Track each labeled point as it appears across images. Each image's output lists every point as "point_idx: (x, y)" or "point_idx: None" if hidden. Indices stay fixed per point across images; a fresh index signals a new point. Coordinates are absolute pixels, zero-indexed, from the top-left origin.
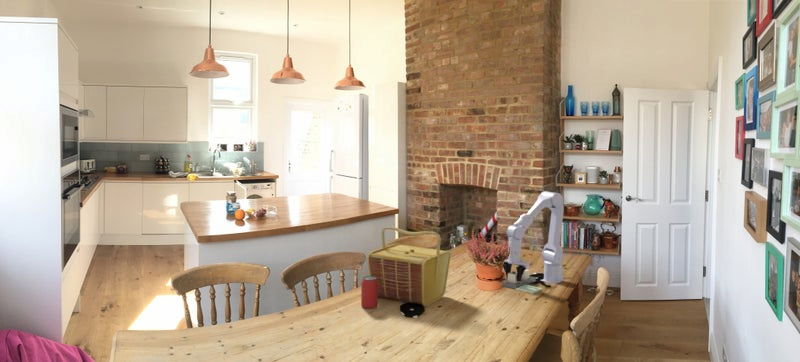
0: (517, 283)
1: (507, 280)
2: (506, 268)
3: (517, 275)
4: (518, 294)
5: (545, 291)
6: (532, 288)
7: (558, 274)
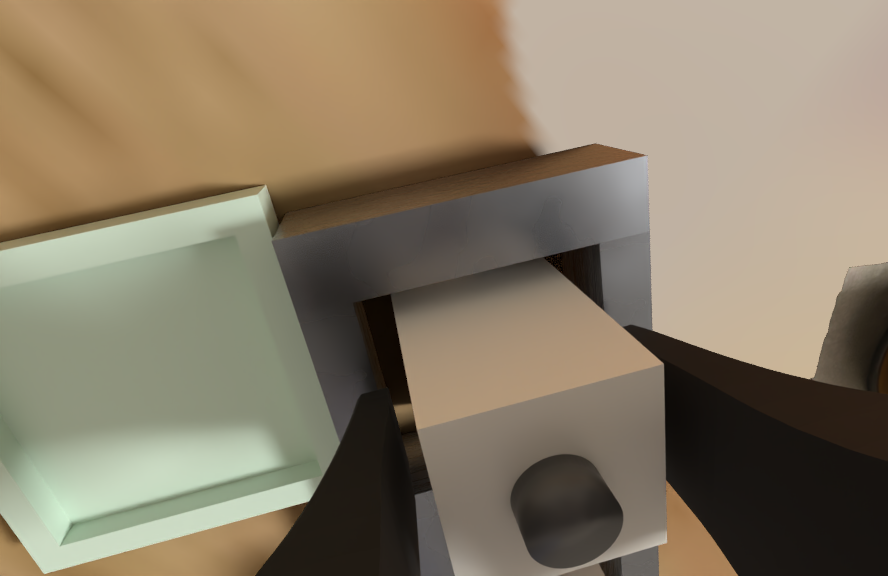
0: (347, 343)
1: None
2: (828, 435)
3: (370, 463)
4: (20, 39)
5: (22, 566)
6: (189, 482)
7: None
